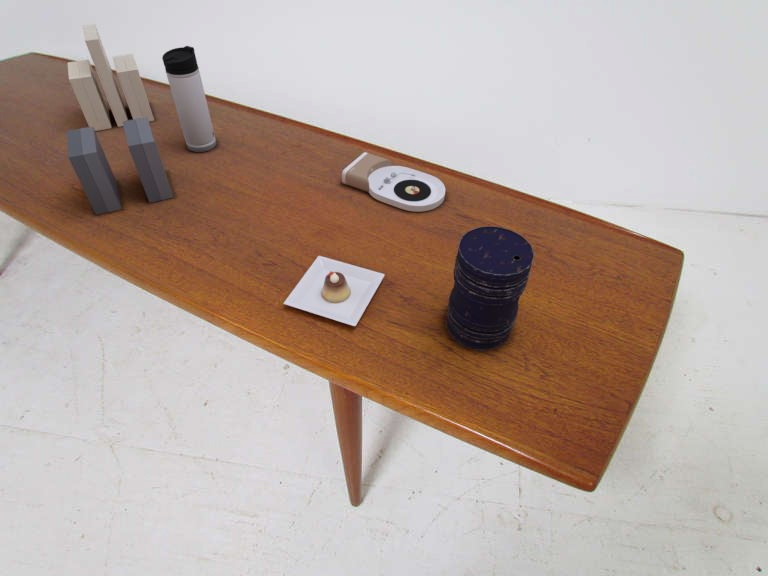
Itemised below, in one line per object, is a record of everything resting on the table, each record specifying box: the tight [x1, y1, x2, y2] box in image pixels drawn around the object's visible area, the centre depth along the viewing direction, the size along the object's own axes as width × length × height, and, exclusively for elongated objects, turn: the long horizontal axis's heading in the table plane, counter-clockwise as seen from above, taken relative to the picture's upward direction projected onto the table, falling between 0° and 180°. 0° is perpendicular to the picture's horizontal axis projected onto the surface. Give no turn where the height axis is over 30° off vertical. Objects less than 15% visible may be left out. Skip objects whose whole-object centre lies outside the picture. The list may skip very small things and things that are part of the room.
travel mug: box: [161, 45, 217, 153], centre depth 103 cm, size 6×7×20 cm
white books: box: [67, 53, 155, 132], centre depth 115 cm, size 14×10×12 cm
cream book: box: [82, 23, 129, 128], centre depth 112 cm, size 2×10×19 cm, turn 26°
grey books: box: [66, 117, 174, 216], centre depth 93 cm, size 14×10×12 cm
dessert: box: [283, 255, 386, 327], centre depth 77 cm, size 12×12×5 cm
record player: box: [341, 151, 446, 213], centre depth 99 cm, size 12×3×20 cm
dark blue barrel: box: [445, 225, 535, 351], centre depth 70 cm, size 10×10×15 cm
